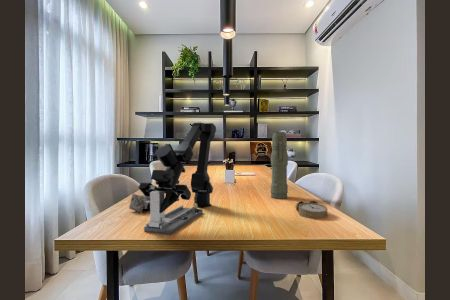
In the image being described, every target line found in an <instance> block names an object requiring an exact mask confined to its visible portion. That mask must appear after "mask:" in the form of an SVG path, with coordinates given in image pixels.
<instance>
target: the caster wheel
mask: <svg viewBox="0 0 450 300" xmlns="http://www.w3.org/2000/svg"><path fill="white" fill-rule="evenodd" d="M149 205H150V197H147V196H145V195H144V194H136V193H132V196H131V199H130V203H129V207H128V209H130V210H132V211H135V212H138V213H140V214H141V213H142V212H143V210H149Z"/></svg>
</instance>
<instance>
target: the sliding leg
mask: <svg viewBox="0 0 450 300" xmlns="http://www.w3.org/2000/svg"><path fill="white" fill-rule="evenodd" d="M164 199H165V193H164V191H153V192H150V211H149V214H150V215H149V216H150V220H149V221H148V222H149V226H151V227H158V228H159V227H160V225H162V224H164V223H166V222H169V224H171V218H165V214H166V213H165V211H166V210H165V211H163V212H162V213H160V212H159V210H160V207H161V205H162V203H163V201H164Z"/></svg>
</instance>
